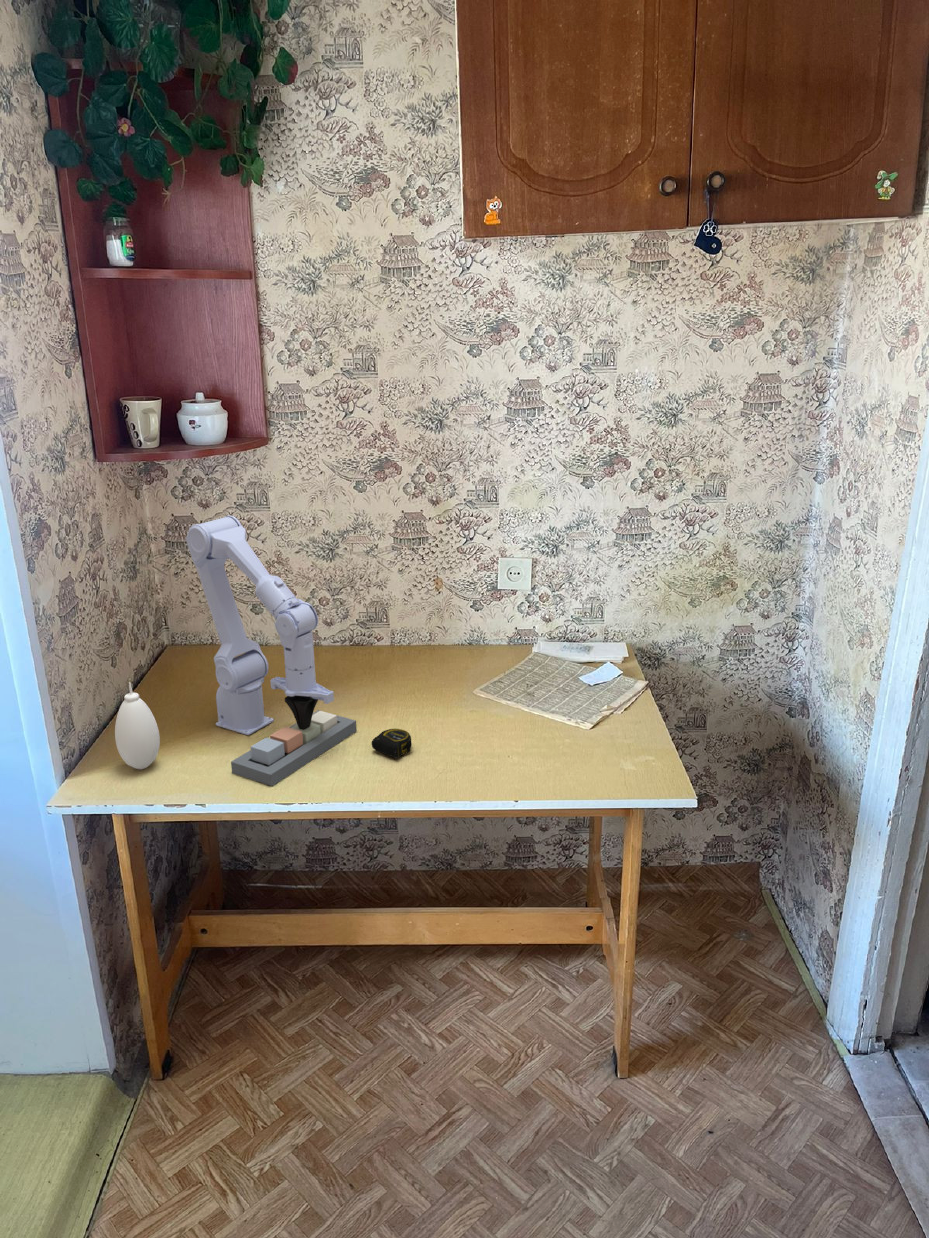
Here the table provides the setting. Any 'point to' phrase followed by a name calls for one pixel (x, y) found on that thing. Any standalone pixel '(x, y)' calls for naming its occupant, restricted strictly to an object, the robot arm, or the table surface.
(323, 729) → the ivory key
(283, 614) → the robot arm
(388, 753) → the tape measure
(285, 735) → the terracotta key
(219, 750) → the table surface
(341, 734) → the key panel
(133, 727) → the white bulb syringe
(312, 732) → the sage key
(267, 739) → the slate key
